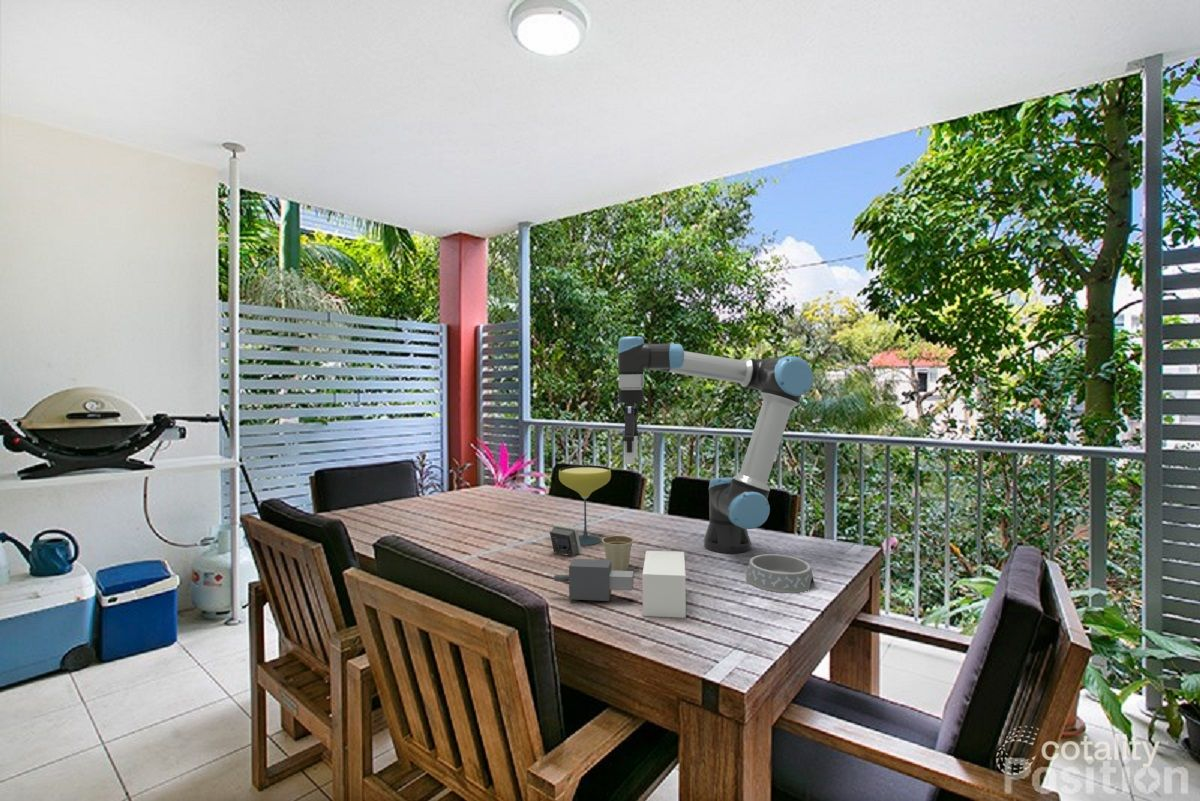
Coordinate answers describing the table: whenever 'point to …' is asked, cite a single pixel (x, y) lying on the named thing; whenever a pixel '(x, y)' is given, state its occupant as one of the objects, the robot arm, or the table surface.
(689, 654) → the table surface
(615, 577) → the plug
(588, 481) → the cocktail glass
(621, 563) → the flower pot
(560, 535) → the electrical switch
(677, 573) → the white rectangular block
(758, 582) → the dog bowl
